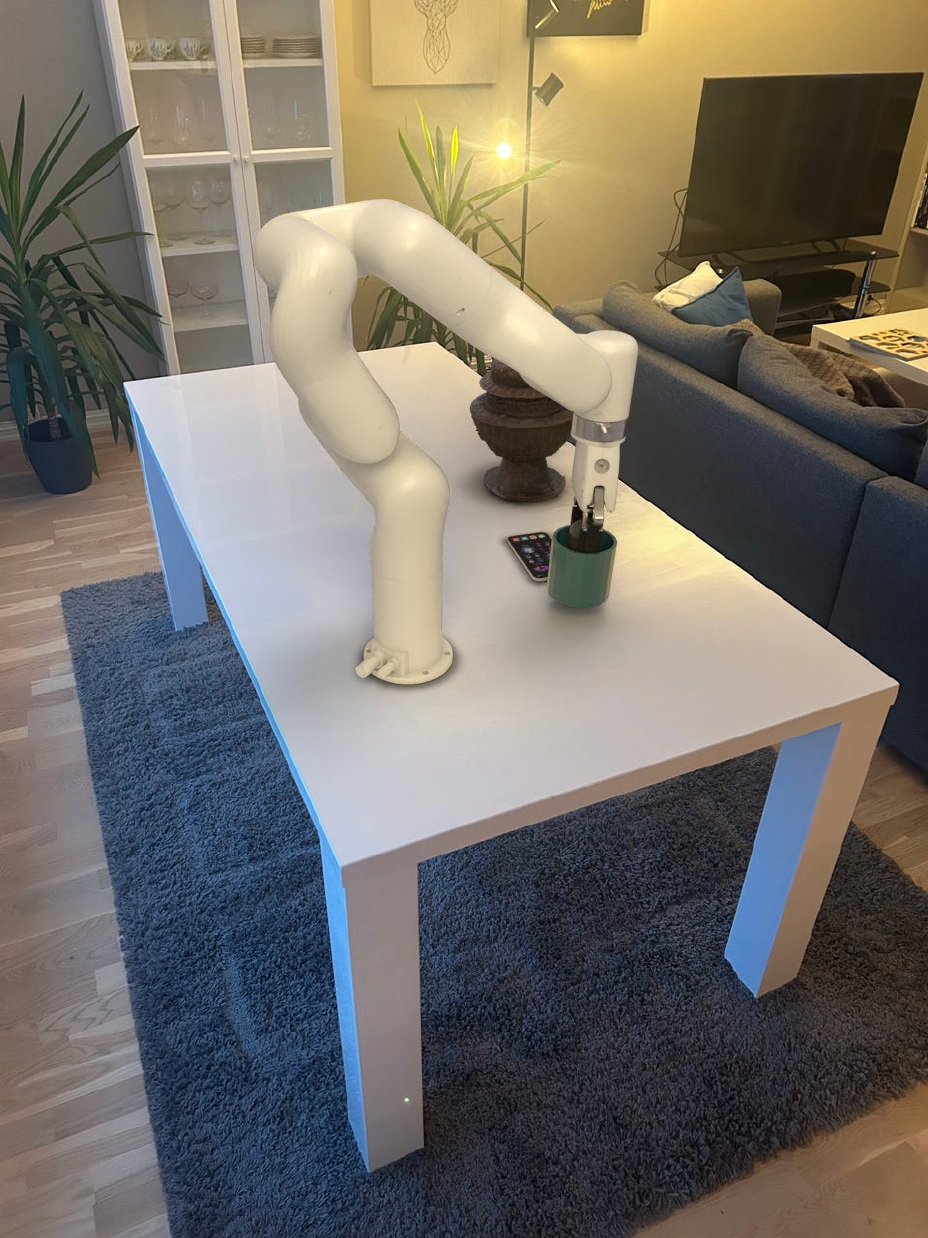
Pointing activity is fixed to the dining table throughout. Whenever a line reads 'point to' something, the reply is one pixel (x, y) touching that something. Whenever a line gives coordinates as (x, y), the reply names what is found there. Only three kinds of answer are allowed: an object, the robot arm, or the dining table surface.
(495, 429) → the decorative urn
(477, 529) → the dining table surface
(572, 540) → the brown rounded cylinder
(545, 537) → the smartphone
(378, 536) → the robot arm
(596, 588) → the cup
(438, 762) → the dining table surface
